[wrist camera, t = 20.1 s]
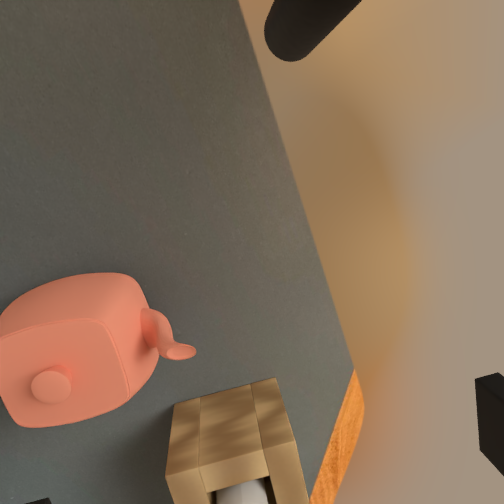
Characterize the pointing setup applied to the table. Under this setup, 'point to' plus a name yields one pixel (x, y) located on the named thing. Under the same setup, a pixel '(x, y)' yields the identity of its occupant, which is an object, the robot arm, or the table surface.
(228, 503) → the beverage can
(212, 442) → the wooden box
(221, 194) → the table surface
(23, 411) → the teapot
